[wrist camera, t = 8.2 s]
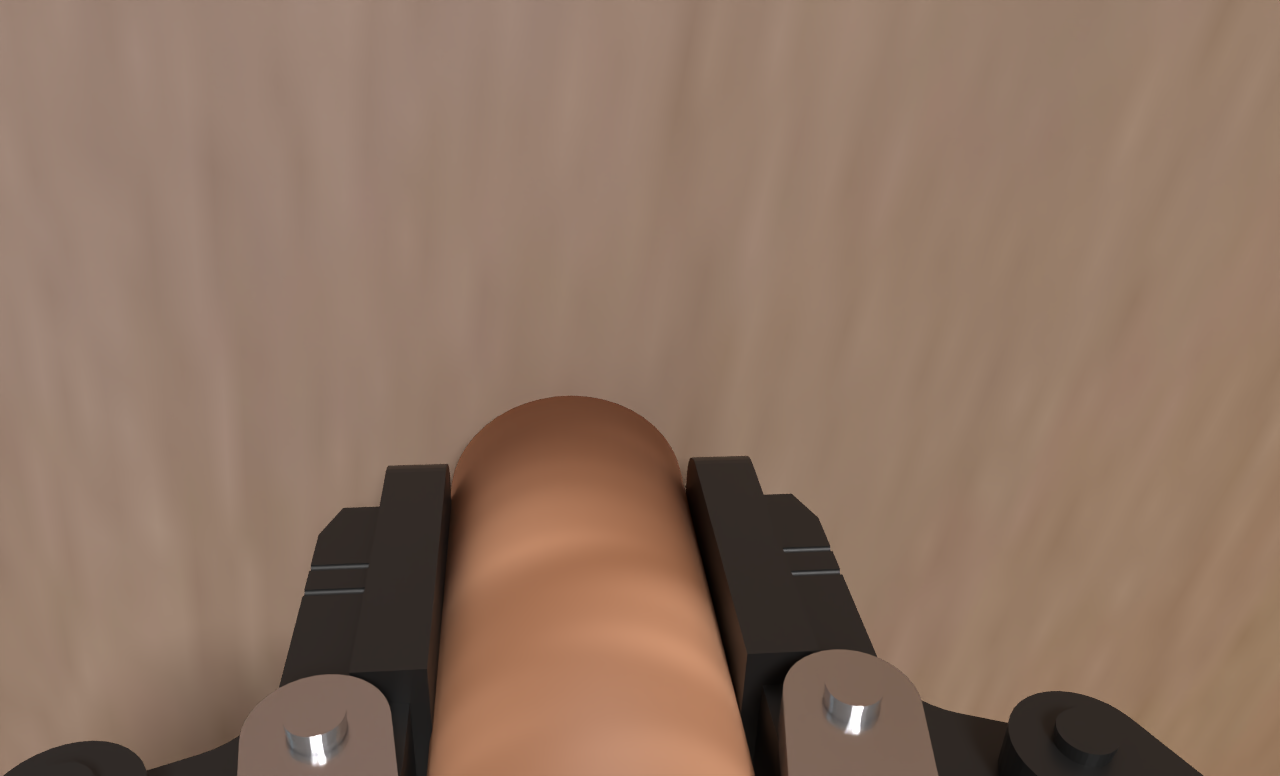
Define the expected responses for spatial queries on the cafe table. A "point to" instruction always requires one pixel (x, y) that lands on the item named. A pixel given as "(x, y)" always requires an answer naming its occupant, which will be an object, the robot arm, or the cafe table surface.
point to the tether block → (578, 607)
